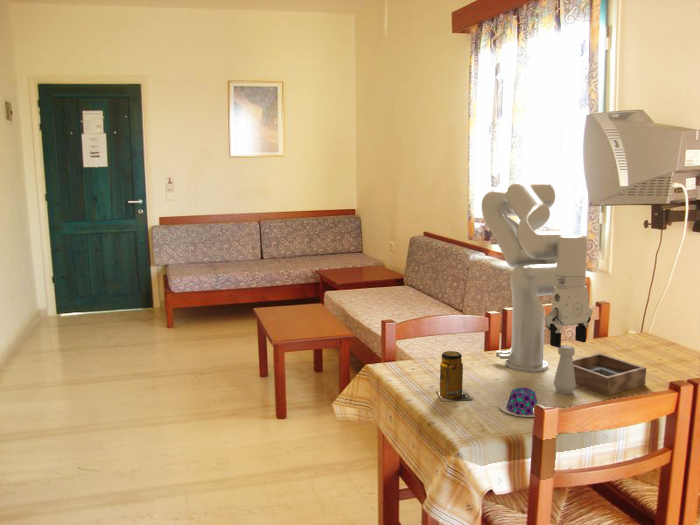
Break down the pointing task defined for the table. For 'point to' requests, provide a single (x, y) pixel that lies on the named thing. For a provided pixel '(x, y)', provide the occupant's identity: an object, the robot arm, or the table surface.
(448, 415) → the table surface
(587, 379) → the bore box
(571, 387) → the salt shaker
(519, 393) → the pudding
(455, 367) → the condiment
